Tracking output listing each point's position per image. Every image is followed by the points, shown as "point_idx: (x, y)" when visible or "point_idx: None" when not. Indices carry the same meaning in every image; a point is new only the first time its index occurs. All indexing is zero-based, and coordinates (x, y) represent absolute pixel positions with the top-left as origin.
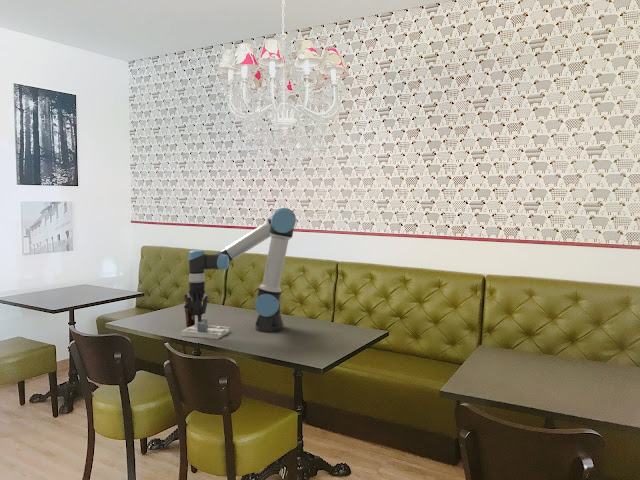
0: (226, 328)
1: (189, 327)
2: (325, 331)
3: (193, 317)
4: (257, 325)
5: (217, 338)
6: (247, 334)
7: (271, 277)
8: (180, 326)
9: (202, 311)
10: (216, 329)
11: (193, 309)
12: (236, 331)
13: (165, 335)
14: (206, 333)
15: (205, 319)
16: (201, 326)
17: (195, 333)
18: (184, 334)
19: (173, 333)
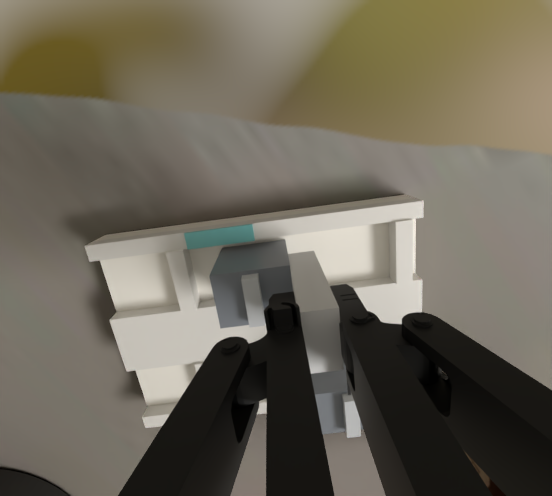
0: (166, 407)
1: (413, 309)
2: None
3: (360, 303)
4: None
5: (104, 236)
6: (18, 396)
7: None
8: (531, 375)
9: (212, 370)
10: (185, 344)
11: (390, 363)
12: (127, 419)
13: (530, 152)
14: (185, 232)
15: (327, 423)
16: (244, 264)
17: (286, 216)
18: (381, 199)
19: (495, 223)
